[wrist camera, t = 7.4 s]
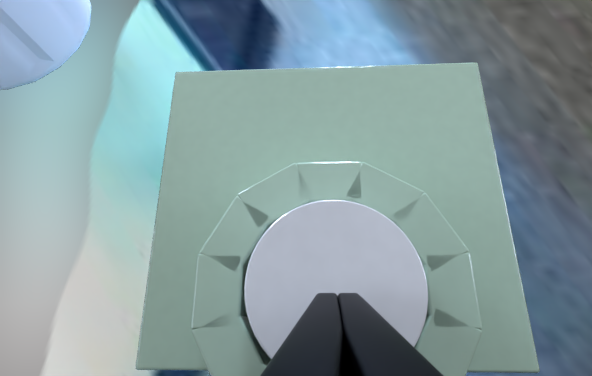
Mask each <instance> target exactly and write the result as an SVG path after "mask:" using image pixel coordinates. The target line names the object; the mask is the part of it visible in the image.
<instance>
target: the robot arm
mask: <svg viewBox="0 0 592 376" xmlns="http://www.w3.org/2000/svg"><path fill="white" fill-rule="evenodd" d="M260 376H444V375H443V374H441V373H440V372H439V371H438V370H437V369H436V368H435V367H434V366H433V365H432V364H431V363H430V362H429V361H428V360H427V359H426V358H425V357H424V356H423V355H422V354H421V353H420V352H419V351H418V350H416V349H415V348H414V347H413V346H412V345H411V344H410V343H409V342H408V341H407V340H406V339H405V338H404V337H403V336H402V335H401V334H400V333H399V332H398V331H397V330H396V329H395V328H394V327H393V326H391V325H390V324H389V323H388V322H387V321H386V320H385V319H384V318H383V317H382V316H381V315H380V314H379V313H378V312H377V311H376V310H375V309H374V308H373V307H372V306H371V305H370V304H369V303H368V302H366V301H365V300H364V299H363V298H362V297H361V296H360V295H359V294H357V293H339V294H338V296H337V294H335V293H318V294H317V295H316V296H315V297H314V299H313V300H312V302H311V303H310V304H309V306H308V307H307V309H306V310H305V312H304V313H303V315H302V316H301V317H300V319H299V320H298V322H297V323H296V325H295V326H294V328H293V329H292V330H291V332H290V333H289V335H288V336H287V338H286V339H285V341H284V342H283V343H282V345H281V346H280V348H279V349H278V351H277V352H276V353H275V355H274V356H273V358H272V359H271V361H270V362H269V364H268V365H267V366H266V368H265V369H264V371H263V372H262V374H261V375H260Z"/></svg>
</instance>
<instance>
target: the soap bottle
mask: <svg viewBox="0 0 592 376" xmlns="http://www.w3.org/2000/svg"><path fill="white" fill-rule="evenodd" d="M90 17H91V4H90V1H89V0H0V89H11V88H14V87H18V86H22V85H25V84H29V83H32V82H35V81H37V80H39V79H41V78H42V77H44V76H45V75H48V74H49V73H51V72H53V71H54V70H56V69H58V68H59V67H61V66H62V65H63V64H64V63H65V62H66V61H67V60H68V59H69V58H70V57H71V56H72V55H73V54H74V53H75V52H76V51H77V49H79V47H80V45H81V43H82V41H83V39H84V37H85V35H86V33H87V31H88V29H89V27H90Z"/></svg>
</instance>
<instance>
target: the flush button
mask: <svg viewBox="0 0 592 376" xmlns="http://www.w3.org/2000/svg"><path fill="white" fill-rule="evenodd" d="M318 293H335V294H337V296H338V294H339V293H357V294H359V295H360V296H361V297H362V298H363V299H364V300H365V301H366V302H368V303H369V304H370V305H371V306H372V307H373V308H374V309H375V310H376V311H377V312H378V313H379V314H380V315H381V316H382V317H383V318H384V319H385V320H386V321H387V322H388V323H389V324H390V325H391V326H393V327H394V328H395V329H396V330H397V331H398V332H399V333H400V334H401V335H402V336H403V337H404V338H405V339H406V340H407V341H408V342H409V343H410V344H411V345H412V346H413V347H415V345H416V343H417V341H418V339H419V337H420V335H421V332H422V330H423V327H424V324H425V320H426V315H427V308H428V286H427V280H426V275H425V271H424V268H423V265H422V262H421V260H420V257H419V255H418V253H417V251H416V249H415V248H414V246H413V244H412V243H411V241H410V240H409V238H408V237H407V236H406V235H405V233H404V232H403V231H402V230H401V229H400V228H399V227H398V226H397V225H396V224H395V223H394V222H393V221H391V220H390V219H389V218H387V217H386V216H385V215H383V214H381V213H380V212H378V211H376V210H374V209H372V208H370V207H368V206H365V205H362V204H359V203H356V202H351V201H345V200H321V201H316V202H311V203H308V204H305V205H302V206H299V207H297V208H295V209H293V210H291V211H289V212H288V213H286V214H284V215H283V216H281V217H280V218H279V219H278V220H277V221H275V222H274V223H273V224H272V225H271V226H270V227H269V228H268V229H267V230H266V232H265V233H264V234H263V235H262V237H261V238H260V240H259V241H258V243H257V245H256V247H255V248H254V250H253V252H252V255H251V258H250V260H249V263H248V267H247V271H246V276H245V285H244V299H245V306H246V312H247V316H248V320H249V323H250V326H251V328H252V331H253V333H254V335H255V337H256V339H257V340H258V342H259V344H260V346H261V347H262V348H263V350H264V351H265V352H266V354H267V355H268V356H269V357H270V358H271V359H272V358H273V356H274V355H275V353H276V352H277V351H278V349H279V348H280V346H281V345H282V343H283V342H284V341H285V339H286V338H287V336H288V335H289V333H290V332H291V330H292V329H293V328H294V326H295V325H296V323H297V322H298V320H299V319H300V317H301V316H302V315H303V313H304V312H305V310H306V309H307V307H308V306H309V304H310V303H311V302H312V300H313V299H314V297H315V296H316V295H317V294H318Z"/></svg>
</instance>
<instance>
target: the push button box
mask: <svg viewBox="0 0 592 376" xmlns="http://www.w3.org/2000/svg"><path fill="white" fill-rule="evenodd" d="M321 200H345V201H351V202H356V203H359V204H362V205H365V206H368V207H370V208H372V209H374V210H376V211H378V212H380V213H381V214H383V215H385V216H386V217H387V218H389V219H390V220H391V221H393V222H394V223H395V224H396V225H397V226H398V227H399V228H400V229H401V230H402V231H403V232H404V233H405V235H406V236H407V237H408V238H409V240H410V241H411V243H412V244H413V246H414V248H415V249H416V251H417V253H418V255H419V257H420V260H421V262H422V265H423V268H424V271H425V275H426V280H427V286H428V308H427V315H426V320H425V324H424V327H423V330H422V332H421V335H420V337H419V339H418V341H417V343H416V345H415V347H414V348H415V349H416V350H418V351H419V352H420V353H421V354H422V355H423V356H424V357H425V358H426V359H427V360H428V361H429V362H430V363H431V364H432V365H433V366H434V367H435V368H436V369H437V370H438V371H439V372H440V373H441V374H443V375H444V376H466V373H467V372H469V373H538V372H539V371H540V370H539V365H538V360H537V355H536V350H535V345H534V340H533V335H532V330H531V325H530V320H529V315H528V310H527V305H526V301H525V296H524V291H523V286H522V281H521V276H520V271H519V266H518V261H517V256H516V251H515V246H514V241H513V236H512V231H511V227H510V222H509V217H508V212H507V207H506V202H505V197H504V192H503V187H502V182H501V177H500V172H499V167H498V162H497V157H496V152H495V148H494V143H493V138H492V133H491V128H490V123H489V118H488V113H487V108H486V103H485V98H484V93H483V88H482V83H481V78H480V74H479V69H478V64H477V63H450V64H419V65H387V66H355V67H323V68H292V69H260V70H228V71H197V72H176V73H175V80H174V88H173V95H172V102H171V110H170V117H169V124H168V132H167V139H166V147H165V154H164V161H163V169H162V176H161V183H160V191H159V198H158V206H157V213H156V220H155V228H154V235H153V242H152V250H151V257H150V265H149V272H148V279H147V287H146V294H145V301H144V309H143V316H142V324H141V331H140V338H139V346H138V353H137V360H136V369H137V370H208V371H209V373H210V375H211V376H260V375H261V374H262V372H263V371H264V369H265V368H266V366H267V365H268V364H269V362H270V361H271V358H270V357H269V356H268V355H267V354H266V352H265V351H264V350H263V348H262V347H261V346H260V344H259V342H258V340H257V339H256V337H255V335H254V333H253V331H252V328H251V326H250V323H249V320H248V316H247V312H246V306H245V299H244V285H245V276H246V271H247V267H248V263H249V260H250V258H251V255H252V252H253V250H254V248H255V247H256V245H257V243H258V241H259V240H260V238H261V237H262V235H263V234H264V233H265V232H266V230H267V229H268V228H269V227H270V226H271V225H272V224H273V223H274V222H275V221H277V220H278V219H279V218H280V217H281V216H283V215H284V214H286V213H288V212H289V211H291V210H293V209H295V208H297V207H299V206H302V205H305V204H308V203H311V202H316V201H321Z"/></svg>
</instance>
